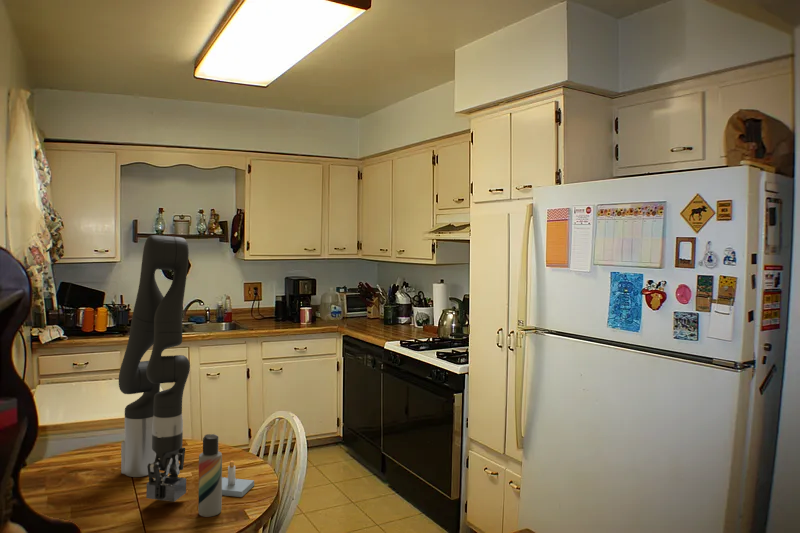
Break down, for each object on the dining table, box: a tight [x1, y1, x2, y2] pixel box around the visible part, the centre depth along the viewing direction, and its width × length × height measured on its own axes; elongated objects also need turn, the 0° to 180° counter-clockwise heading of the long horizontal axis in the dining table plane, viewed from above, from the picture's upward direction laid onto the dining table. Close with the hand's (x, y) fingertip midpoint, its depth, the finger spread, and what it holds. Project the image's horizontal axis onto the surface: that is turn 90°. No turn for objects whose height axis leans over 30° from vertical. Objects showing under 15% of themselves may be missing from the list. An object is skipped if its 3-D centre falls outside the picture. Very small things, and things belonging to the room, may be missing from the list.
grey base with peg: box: [222, 460, 255, 498], centre depth 166 cm, size 10×8×8 cm
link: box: [145, 475, 187, 502], centre depth 157 cm, size 8×6×4 cm
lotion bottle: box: [197, 433, 223, 518], centre depth 152 cm, size 6×6×20 cm
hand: (166, 493), depth 157 cm, fingers closed on link, 5 cm apart
